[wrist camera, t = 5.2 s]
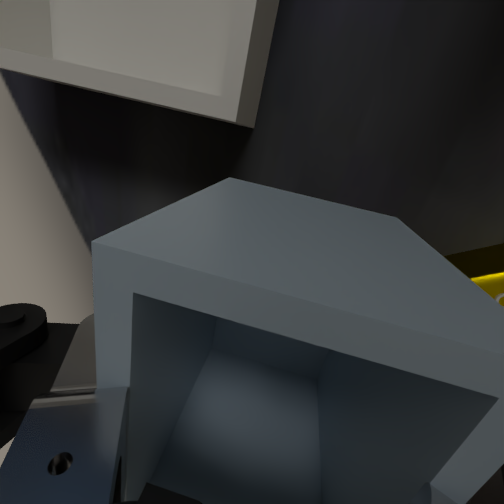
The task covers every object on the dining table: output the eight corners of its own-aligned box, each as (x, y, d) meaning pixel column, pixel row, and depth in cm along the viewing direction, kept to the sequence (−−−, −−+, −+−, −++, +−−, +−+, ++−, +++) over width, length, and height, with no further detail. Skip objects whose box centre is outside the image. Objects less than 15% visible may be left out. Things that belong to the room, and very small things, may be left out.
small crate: (396, 217, 9) (586, 376, 3) (325, 382, 13) (344, 629, 6) (229, 177, 10) (92, 241, 4) (201, 345, 13) (102, 537, 7)
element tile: (603, 219, 19) (696, 241, 14) (593, 386, 23) (661, 443, 19) (372, 269, 23) (389, 299, 18) (401, 403, 27) (420, 454, 23)
